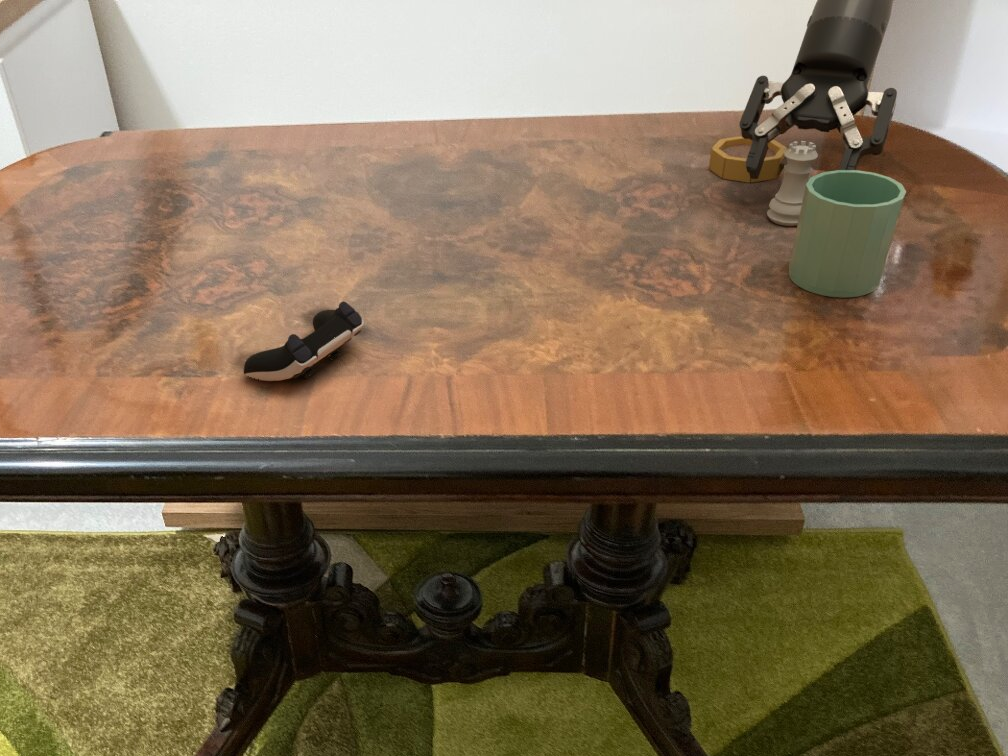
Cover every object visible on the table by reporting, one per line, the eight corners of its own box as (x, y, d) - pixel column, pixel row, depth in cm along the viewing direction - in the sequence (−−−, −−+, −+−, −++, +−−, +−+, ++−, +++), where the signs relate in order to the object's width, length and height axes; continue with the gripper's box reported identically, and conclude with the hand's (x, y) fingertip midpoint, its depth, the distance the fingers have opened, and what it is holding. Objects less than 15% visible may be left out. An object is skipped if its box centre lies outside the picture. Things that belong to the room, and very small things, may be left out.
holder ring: (789, 161, 111) (793, 141, 109) (771, 186, 106) (774, 165, 104) (722, 152, 114) (725, 132, 113) (702, 175, 109) (705, 155, 108)
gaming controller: (266, 408, 81) (299, 380, 76) (235, 368, 81) (266, 336, 75) (345, 352, 88) (382, 322, 82) (317, 314, 87) (352, 281, 82)
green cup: (887, 267, 89) (913, 177, 84) (870, 305, 84) (896, 212, 79) (800, 251, 93) (818, 164, 87) (778, 286, 88) (796, 197, 82)
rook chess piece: (779, 230, 97) (794, 155, 92) (758, 213, 100) (771, 140, 96) (818, 223, 98) (835, 149, 93) (796, 207, 101) (811, 135, 96)
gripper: (916, 60, 95) (867, 207, 95) (775, 48, 102) (728, 186, 101) (922, 18, 89) (868, 176, 88) (771, 8, 95) (720, 156, 95)
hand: (794, 181), depth 95 cm, fingers open, 8 cm apart
